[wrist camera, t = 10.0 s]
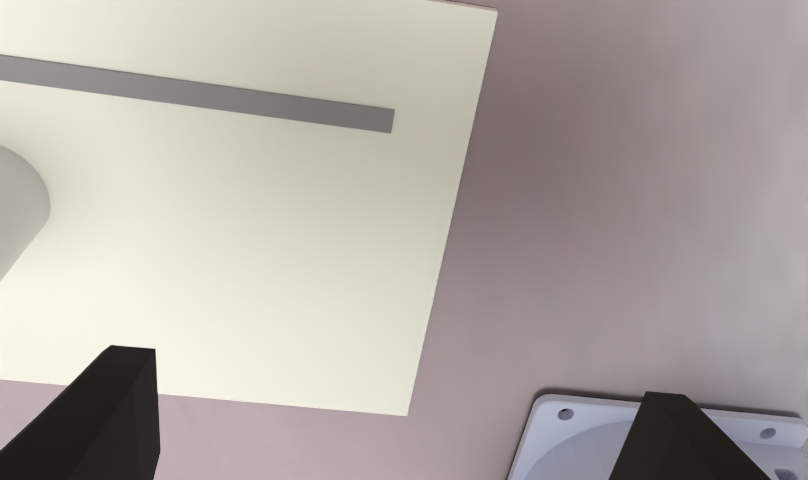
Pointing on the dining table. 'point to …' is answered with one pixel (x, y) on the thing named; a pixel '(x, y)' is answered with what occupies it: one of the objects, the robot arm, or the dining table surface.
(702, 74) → the dining table surface
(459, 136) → the paper
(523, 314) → the dining table surface
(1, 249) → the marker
